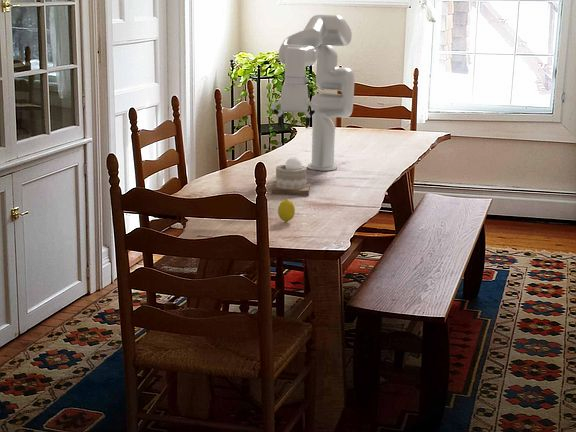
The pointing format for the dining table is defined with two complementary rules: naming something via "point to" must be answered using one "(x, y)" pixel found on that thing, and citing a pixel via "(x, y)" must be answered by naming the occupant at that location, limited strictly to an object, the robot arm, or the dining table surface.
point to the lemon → (286, 210)
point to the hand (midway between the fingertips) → (293, 127)
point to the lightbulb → (293, 164)
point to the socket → (290, 182)
